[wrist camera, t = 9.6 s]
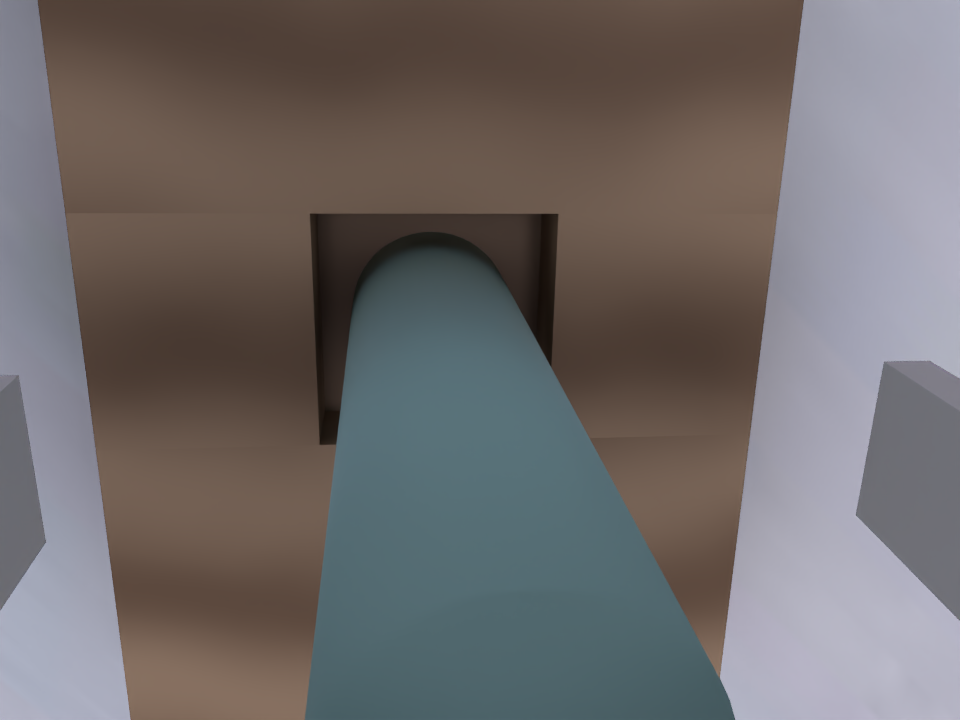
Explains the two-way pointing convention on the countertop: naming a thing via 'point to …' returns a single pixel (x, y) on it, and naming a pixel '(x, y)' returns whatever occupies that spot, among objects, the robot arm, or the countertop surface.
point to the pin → (482, 525)
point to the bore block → (365, 231)
